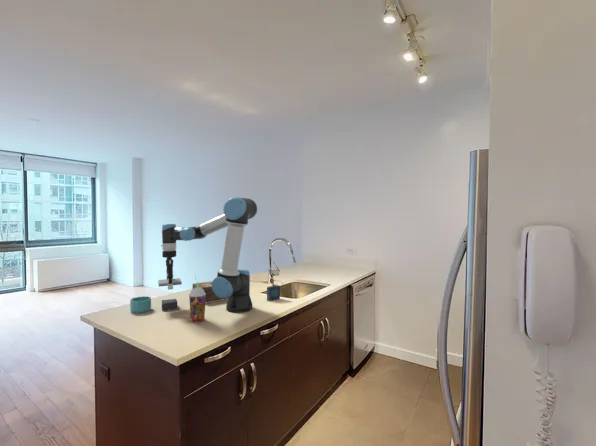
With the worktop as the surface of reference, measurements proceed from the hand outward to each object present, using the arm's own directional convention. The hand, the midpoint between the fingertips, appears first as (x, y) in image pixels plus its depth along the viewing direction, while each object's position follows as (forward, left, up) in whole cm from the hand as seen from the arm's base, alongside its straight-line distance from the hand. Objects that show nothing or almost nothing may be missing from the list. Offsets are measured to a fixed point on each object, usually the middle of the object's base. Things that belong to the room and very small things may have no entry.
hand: (169, 287), depth 180 cm
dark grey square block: (0, 0, -12) cm, 12 cm away
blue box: (-8, -62, -13) cm, 64 cm away
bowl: (+2, +15, -12) cm, 20 cm away
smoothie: (-29, -12, -13) cm, 34 cm away
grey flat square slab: (0, 0, +2) cm, 2 cm away
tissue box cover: (+12, -29, -13) cm, 34 cm away
